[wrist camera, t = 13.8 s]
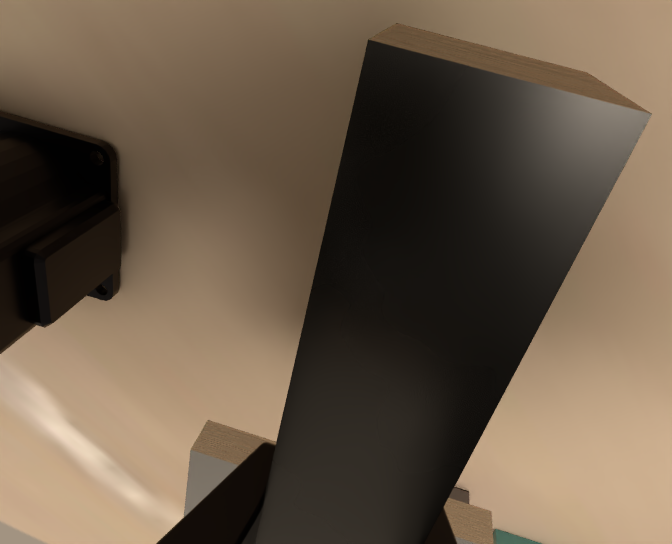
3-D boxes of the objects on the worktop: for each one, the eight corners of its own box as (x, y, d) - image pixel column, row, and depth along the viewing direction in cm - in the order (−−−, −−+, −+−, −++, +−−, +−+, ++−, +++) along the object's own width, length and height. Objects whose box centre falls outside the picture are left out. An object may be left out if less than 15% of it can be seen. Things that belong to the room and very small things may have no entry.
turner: (259, -13, 7) (169, -14, 4) (736, 112, 6) (881, 174, 4) (191, 553, 13) (142, 658, 11) (417, 630, 13) (410, 754, 11)
